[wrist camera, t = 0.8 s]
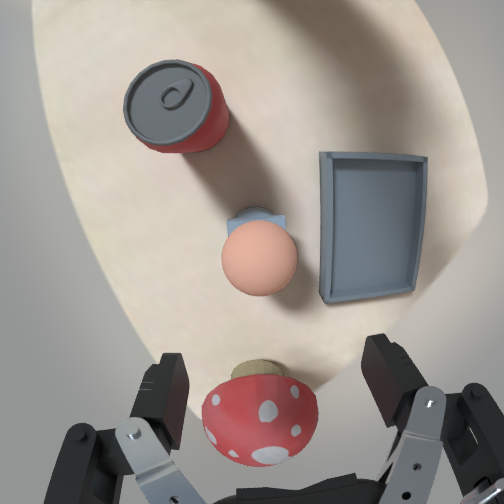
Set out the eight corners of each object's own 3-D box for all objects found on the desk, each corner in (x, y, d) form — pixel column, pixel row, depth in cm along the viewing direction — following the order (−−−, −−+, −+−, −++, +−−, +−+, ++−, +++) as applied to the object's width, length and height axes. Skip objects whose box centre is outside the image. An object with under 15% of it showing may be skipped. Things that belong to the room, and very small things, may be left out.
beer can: (243, 122, 26) (244, 103, 14) (192, 165, 27) (159, 177, 16) (201, 77, 24) (175, 33, 12) (152, 120, 25) (97, 105, 14)
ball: (220, 215, 24) (214, 236, 19) (290, 210, 24) (304, 229, 19) (227, 278, 26) (223, 313, 21) (291, 273, 26) (304, 306, 21)
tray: (318, 151, 27) (326, 152, 24) (415, 155, 27) (427, 157, 25) (319, 292, 32) (324, 303, 30) (405, 281, 33) (414, 290, 30)
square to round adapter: (228, 208, 29) (225, 220, 24) (279, 205, 29) (286, 216, 24) (232, 256, 30) (231, 276, 26) (280, 252, 30) (287, 271, 26)
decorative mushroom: (323, 365, 37) (351, 452, 23) (252, 407, 40) (256, 489, 26) (262, 309, 33) (275, 410, 19) (187, 363, 36) (169, 455, 22)
